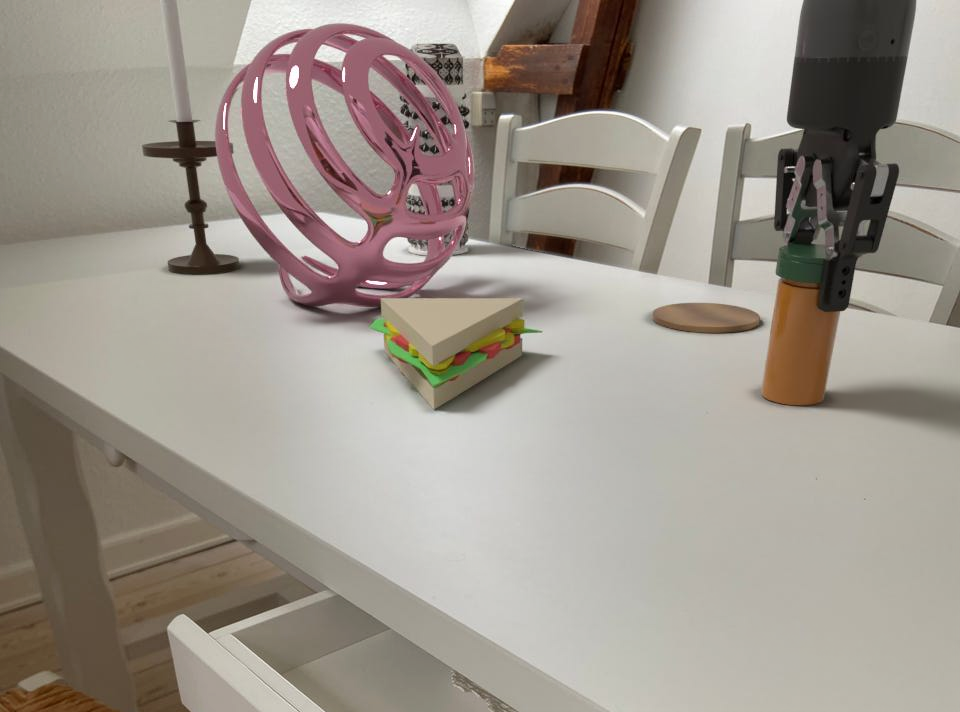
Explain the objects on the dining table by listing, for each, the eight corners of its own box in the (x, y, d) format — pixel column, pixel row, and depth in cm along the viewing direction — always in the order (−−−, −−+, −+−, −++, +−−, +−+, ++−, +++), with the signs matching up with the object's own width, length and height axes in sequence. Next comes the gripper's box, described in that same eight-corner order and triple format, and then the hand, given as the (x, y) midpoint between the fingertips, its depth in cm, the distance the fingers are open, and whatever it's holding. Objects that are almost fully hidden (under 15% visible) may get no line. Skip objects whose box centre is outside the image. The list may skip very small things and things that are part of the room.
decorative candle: (399, 246, 144) (391, 43, 131) (462, 243, 146) (460, 43, 133) (411, 257, 136) (403, 43, 123) (477, 254, 138) (476, 43, 125)
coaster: (709, 303, 111) (709, 298, 111) (781, 324, 103) (782, 318, 103) (631, 316, 107) (631, 310, 106) (700, 338, 98) (701, 332, 98)
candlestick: (143, 270, 129) (88, -61, 111) (204, 257, 137) (162, -54, 119) (204, 278, 124) (157, -66, 106) (264, 264, 132) (229, -58, 114)
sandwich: (307, 400, 81) (302, 338, 79) (389, 341, 98) (387, 288, 95) (490, 416, 78) (490, 351, 75) (543, 352, 94) (545, 297, 91)
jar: (791, 382, 85) (814, 252, 79) (837, 399, 81) (863, 263, 76) (748, 392, 83) (767, 259, 77) (792, 409, 79) (816, 271, 74)
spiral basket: (143, 101, 110) (262, -84, 89) (352, 154, 128) (490, 10, 108) (196, 343, 107) (330, 209, 87) (401, 360, 126) (551, 253, 106)
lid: (759, 272, 78) (762, 247, 77) (811, 264, 80) (815, 241, 79) (813, 287, 74) (818, 261, 73) (866, 278, 76) (871, 253, 75)
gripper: (961, 51, 64) (906, 320, 73) (849, 49, 76) (814, 281, 85) (852, 52, 63) (810, 326, 71) (757, 51, 75) (730, 285, 84)
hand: (812, 300), depth 78 cm, fingers closed on lid, 5 cm apart
